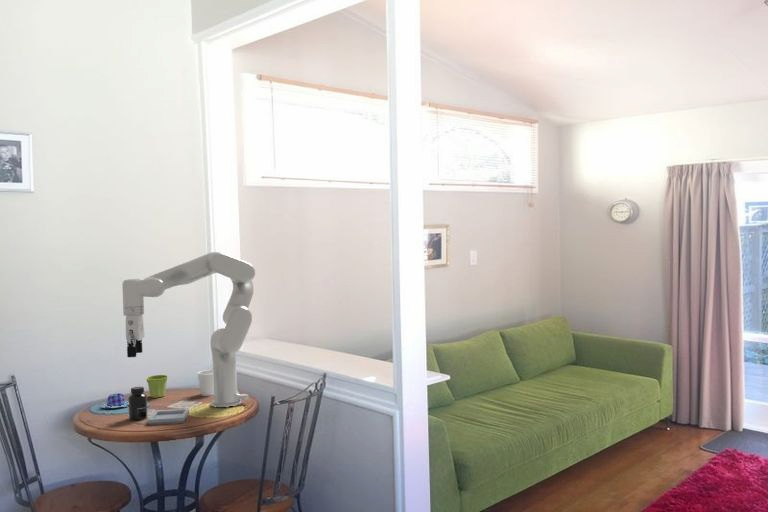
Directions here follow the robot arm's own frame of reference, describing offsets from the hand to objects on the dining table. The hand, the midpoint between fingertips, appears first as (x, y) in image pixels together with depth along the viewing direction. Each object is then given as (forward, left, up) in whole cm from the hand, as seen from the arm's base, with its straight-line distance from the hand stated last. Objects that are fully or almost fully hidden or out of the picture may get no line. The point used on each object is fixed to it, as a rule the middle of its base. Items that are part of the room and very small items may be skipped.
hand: (135, 354), depth 260 cm
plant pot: (0, -36, -25) cm, 44 cm away
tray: (-13, +4, -25) cm, 28 cm away
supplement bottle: (0, 0, -25) cm, 25 cm away
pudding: (+14, -22, -25) cm, 36 cm away
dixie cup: (-22, -35, -25) cm, 48 cm away
